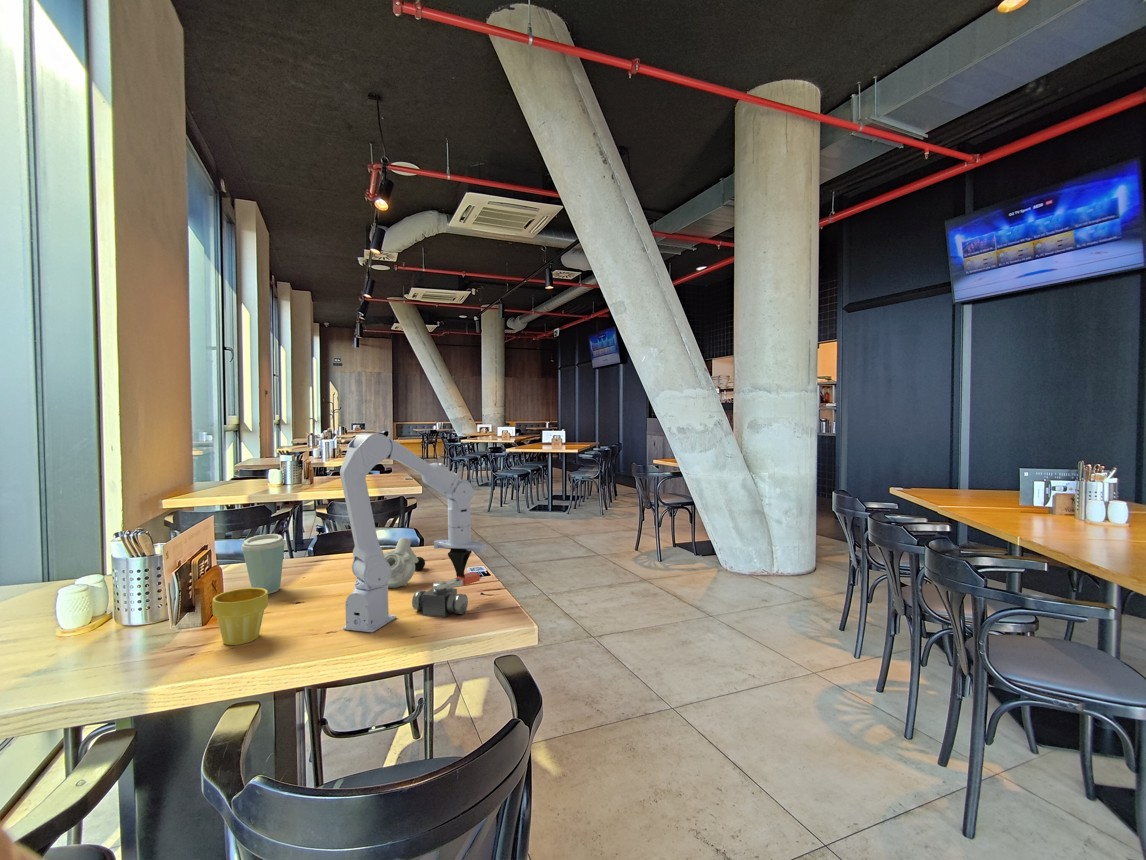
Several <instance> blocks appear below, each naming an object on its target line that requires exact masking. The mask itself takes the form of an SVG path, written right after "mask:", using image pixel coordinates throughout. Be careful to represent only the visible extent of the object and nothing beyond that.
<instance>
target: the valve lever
mask: <svg viewBox="0 0 1146 860" xmlns="http://www.w3.org/2000/svg"><path fill="white" fill-rule="evenodd" d="M480 579H481V576H480V573H477V572H474V571H469V572H466V573H464V574H463V575H460V576H456V578H452V579H448V580H446V581H442V580H441V581H435V582H433V583H432V587H433V591H434V592H443V591H446V590H447V589H450V588H456V587H459V586H468V585H471V584H475V583H478V582H480Z"/></svg>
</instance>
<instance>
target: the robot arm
mask: <svg viewBox="0 0 1146 860" xmlns="http://www.w3.org/2000/svg"><path fill="white" fill-rule="evenodd" d="M384 460H390V461H391V460H392V461H393V460H395V461H396V462H398V463H400V464H402V465H404V466H405V467H407V468H409V469H410V470H413V471H415V472H416V473H418V474H419V475H420V476H421V480H422V482H423V483H424V484H426V485H428V486H429V487H430V488H433V490H436V491H437V492H439V493H440V494H442V495H443V496H444V498H445V499H447V531H448V532H447V534H448V535H447V537H448V538H447V539H436V540H434V541H433V548H434V550H436V549H437V550H438V549H443V550H445V549H446V550H449V552H448V553H447V557H448V558H449V560H450V561H451V563H452V565H453V568H454V570H455V571H454V572H455V574H456V577H457V576H460V575H463V574H465V571H466V570H465V569H466V567H467V566H466V565H467V564H468V561H469V558H470V556H471V554H472V552H477V553H478V552H479V553H482V554H483V553H485V552H487V551H488V550H487V549H488V548H487V543H484V542H480V541H479V542H478V541H475V540H472V531H471V530H472V529H471V528H472V527H471V525H472V524H471V523H472V522H471V519H472V518H471V503H472V502H471V501H472V499H473V497H474V496H475V489H473V486H472V483H471V482H470V481H468V480H465V479H461V478H460V474H458V473H454V472H452V471H450V470H449V469H447V468H446V465H445V464H444V463H442V462H432V463H428V462H427V461H425V459H422V458H421V457H420V456H419V455H417V454H415V453H414V452H413V451H411V450H410V449H408V448H407V447H405V446H404V445H402V444H401V443H399V442H398V441H397V440H395V439H392V438H388V436H386V435H385V434H382V433H378V432H377V433H369V432H361V433H358V434H357V435H356V436H355V437H353V438H352V440H350V442H349V443H347V450H346V453H345V456H344V458H343V462H342V464H341V467H340V470H339V474H340V481H341V485H342V491H343V495H344V500H345V505H346V509H347V514H348V519H349V524H350V530H351V533H352V539H353V543H354V547H353V549H352V554H353V555H352V556H353V561H352V564H351V571H352V573H353V576H355V577H356V579H355V582H354V587H353V591H352V592H351V593H350V594H349V595H348V596H347V598H346V600H345V625H344V626H342V629H343V630H349V631H354V632H355V631H356V632H363V633H365V632H366V633H374V632H375V631H378V630H379V629H381V628H382V627H383V626H385V625H387V624H388V623H390V622H392V621H393V620H394V619H396V618H397V615H396V614H390V613H389V611H390V610H389V609H390V608H389V587H388V580H389V578H390V576H391V567H390V565H389V563H388V562H387V561H386V560H385V557H384V553H385V552H384V551H383V549H382V547H381V545H380V543H379V539H378V534H377V529H376V525H375V518H374V514H373V509H372V505H371V504H372V503H371V500H370V495H369V489H368V485H367V484H368V483H367V479H366V477H367V476H368V475H369V473H370V472H371V471H372V469H373V468H374V467H375V466H377V465H378V464H380V463H381V462H383V461H384Z"/></svg>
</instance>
